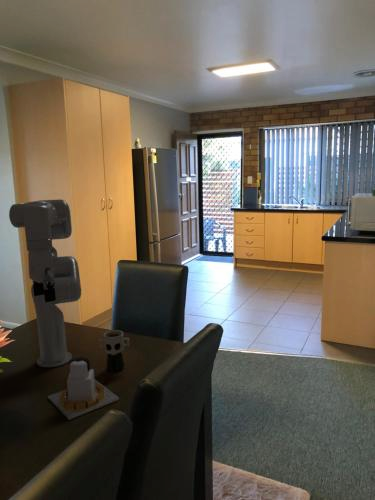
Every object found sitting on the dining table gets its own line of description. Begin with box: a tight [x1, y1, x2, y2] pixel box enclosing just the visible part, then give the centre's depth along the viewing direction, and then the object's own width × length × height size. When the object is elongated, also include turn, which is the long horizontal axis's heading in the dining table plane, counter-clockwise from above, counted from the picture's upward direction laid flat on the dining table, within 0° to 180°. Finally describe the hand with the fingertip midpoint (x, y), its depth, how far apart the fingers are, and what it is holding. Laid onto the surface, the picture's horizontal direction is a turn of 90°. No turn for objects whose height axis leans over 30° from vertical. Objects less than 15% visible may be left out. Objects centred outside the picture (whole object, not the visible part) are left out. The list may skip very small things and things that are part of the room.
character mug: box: [97, 329, 130, 372], centre depth 147 cm, size 11×7×13 cm, turn 94°
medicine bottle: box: [66, 356, 95, 403], centre depth 127 cm, size 7×7×12 cm
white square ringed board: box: [47, 378, 120, 421], centre depth 128 cm, size 16×16×2 cm
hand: (44, 298), depth 131 cm, fingers open, 9 cm apart
